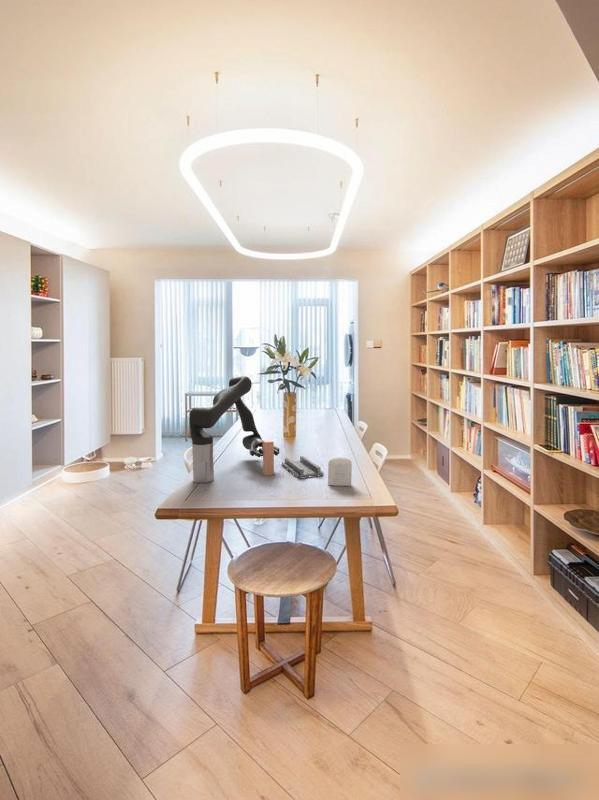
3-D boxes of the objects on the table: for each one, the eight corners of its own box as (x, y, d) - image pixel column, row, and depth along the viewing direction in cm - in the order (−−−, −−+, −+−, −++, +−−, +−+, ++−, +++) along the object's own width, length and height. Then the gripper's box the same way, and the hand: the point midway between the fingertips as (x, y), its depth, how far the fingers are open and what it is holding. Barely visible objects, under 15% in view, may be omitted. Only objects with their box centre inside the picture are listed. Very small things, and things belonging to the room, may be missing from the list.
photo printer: (351, 483, 184) (351, 456, 183) (351, 486, 180) (351, 458, 178) (328, 483, 185) (328, 455, 184) (327, 486, 181) (327, 458, 179)
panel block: (265, 475, 196) (265, 442, 195) (263, 472, 201) (262, 440, 199) (273, 474, 198) (273, 441, 196) (271, 472, 202) (270, 439, 201)
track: (323, 475, 196) (323, 467, 196) (297, 478, 192) (297, 470, 191) (305, 463, 219) (305, 455, 218) (281, 465, 214) (281, 457, 214)
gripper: (245, 441, 210) (253, 447, 195) (273, 439, 215) (282, 445, 200) (246, 455, 211) (253, 463, 196) (273, 453, 216) (282, 460, 201)
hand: (268, 454), depth 198 cm, fingers open, 8 cm apart
